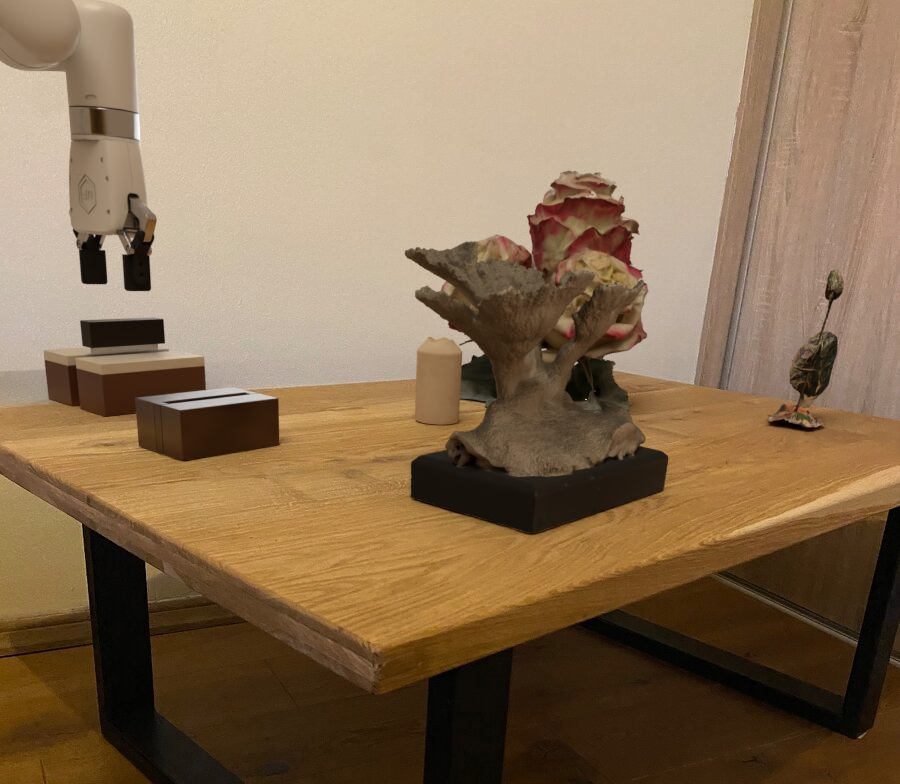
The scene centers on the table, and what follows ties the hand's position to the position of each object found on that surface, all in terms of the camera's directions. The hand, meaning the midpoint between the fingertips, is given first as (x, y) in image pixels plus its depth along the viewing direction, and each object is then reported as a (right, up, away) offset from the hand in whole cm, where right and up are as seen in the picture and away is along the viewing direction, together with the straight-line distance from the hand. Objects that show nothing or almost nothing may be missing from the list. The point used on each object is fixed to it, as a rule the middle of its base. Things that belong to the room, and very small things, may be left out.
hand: (115, 287), depth 112 cm
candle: (+39, -16, +4) cm, 42 cm away
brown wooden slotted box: (+15, -22, -14) cm, 30 cm away
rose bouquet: (+55, -10, +20) cm, 59 cm away
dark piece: (0, -13, +5) cm, 14 cm away
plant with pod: (+88, -14, +14) cm, 90 cm away
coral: (+46, -28, -25) cm, 59 cm away
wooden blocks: (0, -13, +5) cm, 14 cm away
